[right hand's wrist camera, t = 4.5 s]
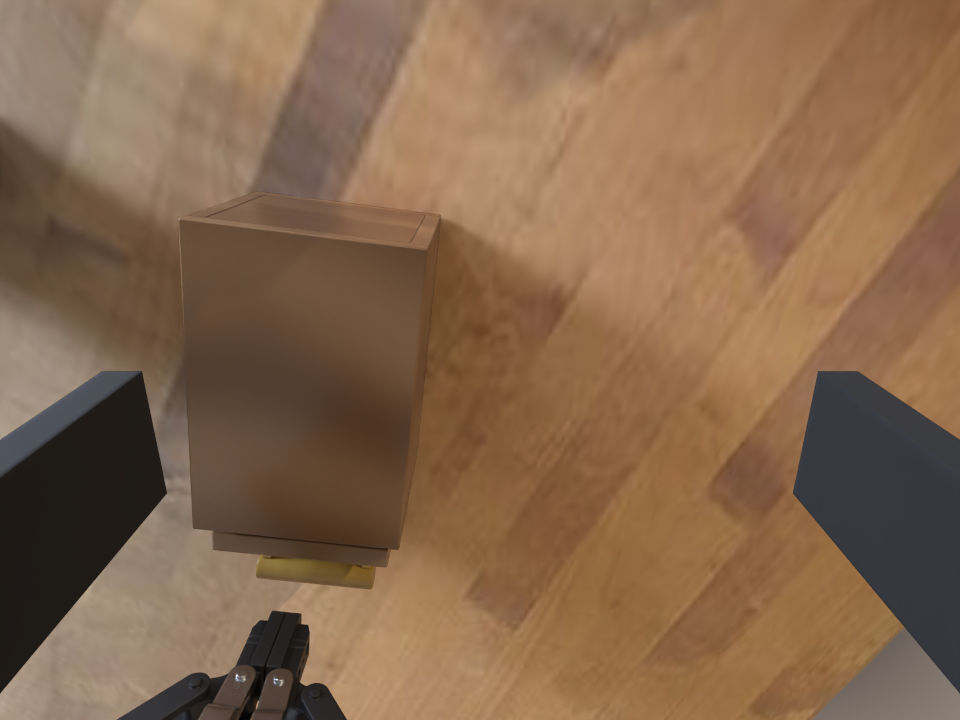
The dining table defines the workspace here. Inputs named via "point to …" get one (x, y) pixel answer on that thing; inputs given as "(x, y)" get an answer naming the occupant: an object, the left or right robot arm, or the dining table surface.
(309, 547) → the drawer
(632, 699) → the dining table surface
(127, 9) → the dining table surface
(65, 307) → the dining table surface
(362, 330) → the cabinet
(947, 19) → the dining table surface
